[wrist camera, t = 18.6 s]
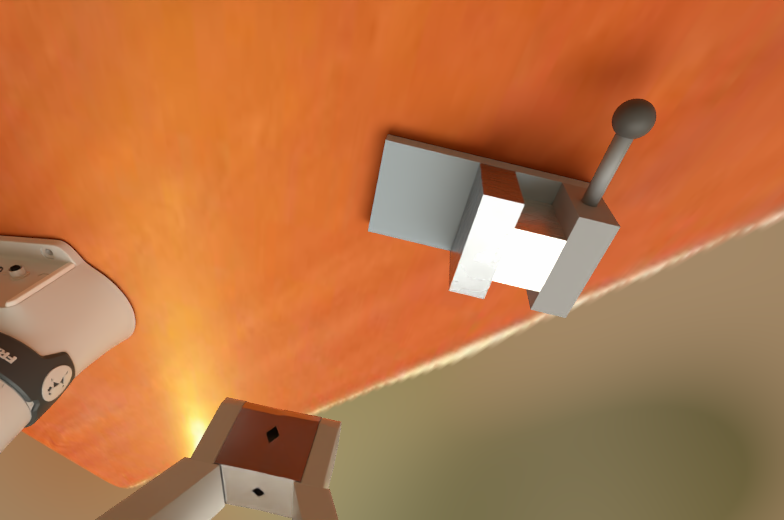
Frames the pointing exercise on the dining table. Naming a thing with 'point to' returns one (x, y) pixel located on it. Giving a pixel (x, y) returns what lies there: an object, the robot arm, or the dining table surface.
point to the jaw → (484, 230)
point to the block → (531, 247)
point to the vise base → (568, 196)
